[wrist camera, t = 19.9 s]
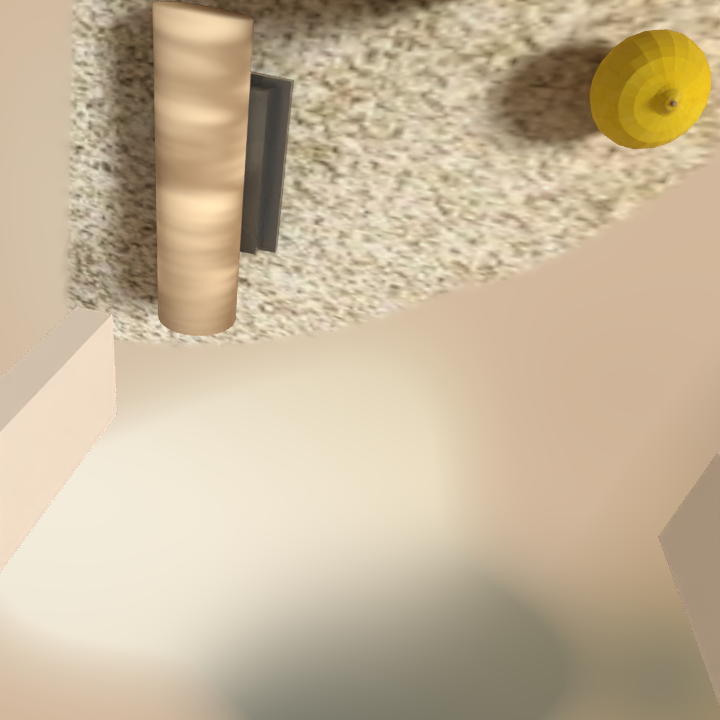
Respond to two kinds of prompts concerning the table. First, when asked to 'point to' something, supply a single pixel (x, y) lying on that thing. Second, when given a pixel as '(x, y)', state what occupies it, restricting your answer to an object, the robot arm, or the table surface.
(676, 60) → the fruit
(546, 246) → the table surface
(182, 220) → the axle
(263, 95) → the cradle
